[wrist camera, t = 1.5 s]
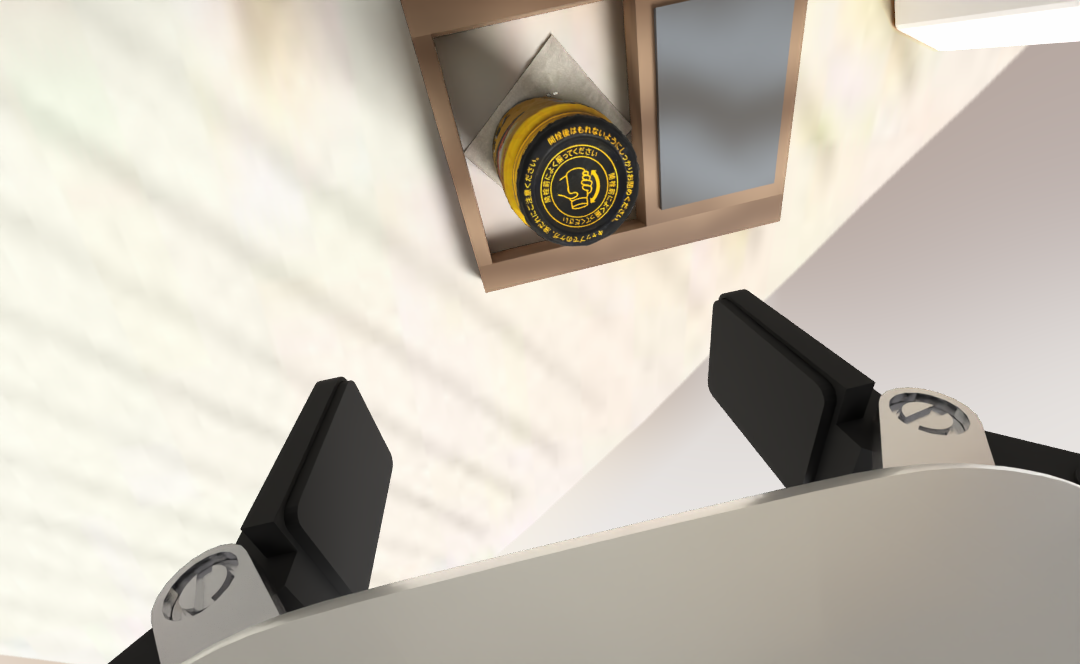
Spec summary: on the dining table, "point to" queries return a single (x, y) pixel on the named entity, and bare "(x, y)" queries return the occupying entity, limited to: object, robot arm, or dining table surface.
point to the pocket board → (655, 122)
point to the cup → (988, 22)
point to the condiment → (560, 152)
